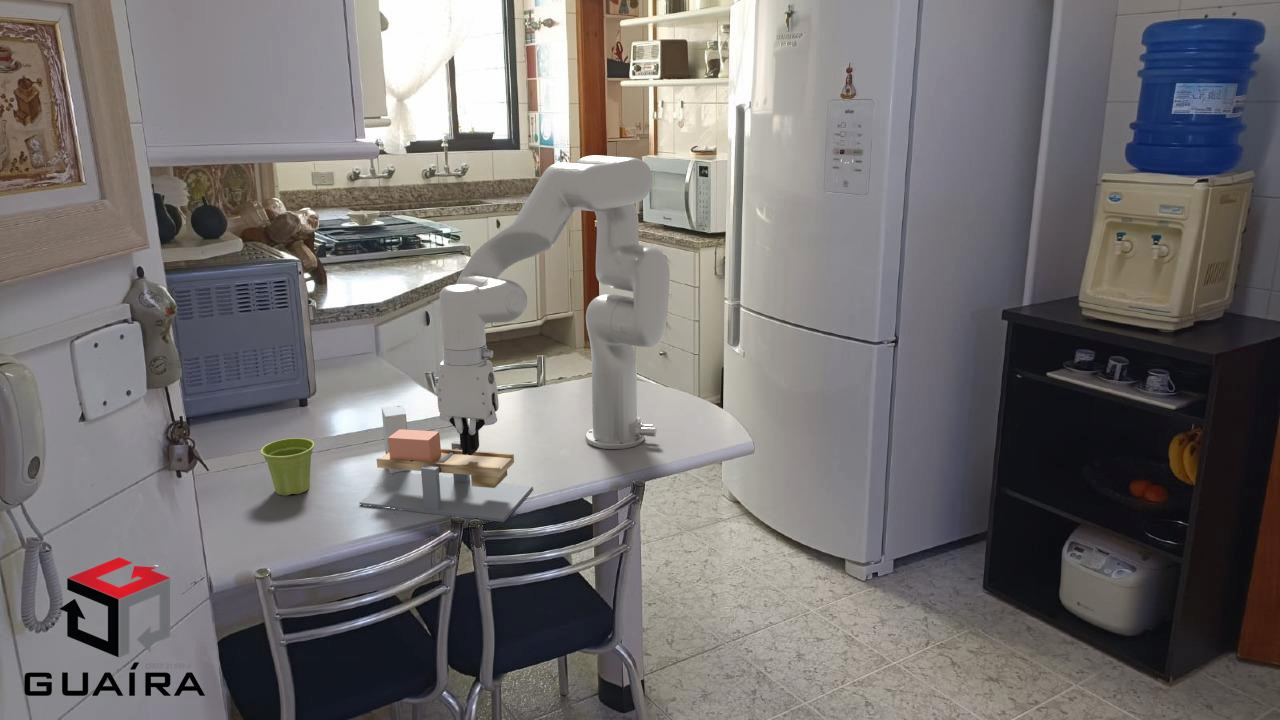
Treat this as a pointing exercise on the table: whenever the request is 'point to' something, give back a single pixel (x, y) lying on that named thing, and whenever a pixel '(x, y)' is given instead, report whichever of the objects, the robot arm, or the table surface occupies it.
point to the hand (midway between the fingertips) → (470, 452)
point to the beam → (460, 465)
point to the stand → (447, 495)
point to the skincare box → (393, 425)
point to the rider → (414, 445)
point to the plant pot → (289, 464)
